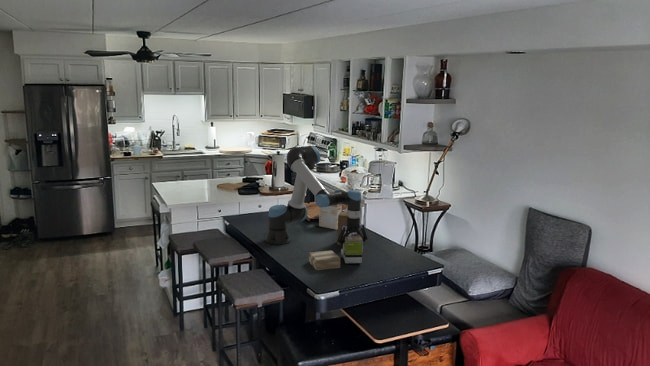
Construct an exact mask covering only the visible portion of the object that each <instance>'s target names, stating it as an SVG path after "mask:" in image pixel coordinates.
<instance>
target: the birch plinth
mask: <svg viewBox="0 0 650 366" xmlns="http://www.w3.org/2000/svg"><path fill="white" fill-rule="evenodd" d="M309 262H310V263H309ZM308 263H309V264H310V265H311V266H312V267H313V268H314V269H315V270H316V271H322V270H324V271H325V270H331V269H340V268H341V257H340V256H338V254H337V253H335V252H334V251H333V250H332V249H331V250H321V251H320V250H319V251H312V252H311V251H310V252H308Z"/></svg>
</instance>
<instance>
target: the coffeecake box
mask: <svg viewBox="0 0 650 366" xmlns="http://www.w3.org/2000/svg"><path fill="white" fill-rule="evenodd" d="M342 206H343V204H338V205H332V206H327V207H319V210H318V211H319V213H318V214H319V217H318V220H319V221H318V226H319V227H321V228H327V229H332V230H337V231H338V215H339V214H340V212H343V210H342V209H343V207H342Z"/></svg>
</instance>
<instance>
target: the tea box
mask: <svg viewBox="0 0 650 366" xmlns="http://www.w3.org/2000/svg"><path fill="white" fill-rule="evenodd" d="M345 233H346V232H345ZM345 233H344V234H345ZM361 235H362V234H361ZM361 235H359V234H357V232H356V233H350V234H349V235H348V237H345V242H344V244H345V247H344V255H343V254H341V256H342V257H343V261H344V263H345V264H362V263H363V252H362V245H363V239H362V237H361ZM343 236H344V235H343Z"/></svg>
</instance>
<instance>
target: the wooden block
mask: <svg viewBox="0 0 650 366" xmlns="http://www.w3.org/2000/svg"><path fill="white" fill-rule="evenodd" d="M347 217H348V216H347V211H342V212H340V214H339V215H338V229H337V239H336V242H337V240H338V237H339V235H340V232H341V230H342V226H347ZM346 230H347V228H346ZM346 230H345V232H346ZM348 232H349V231H348ZM336 244H337V246H340V243H338V242H337V243H336Z"/></svg>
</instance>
